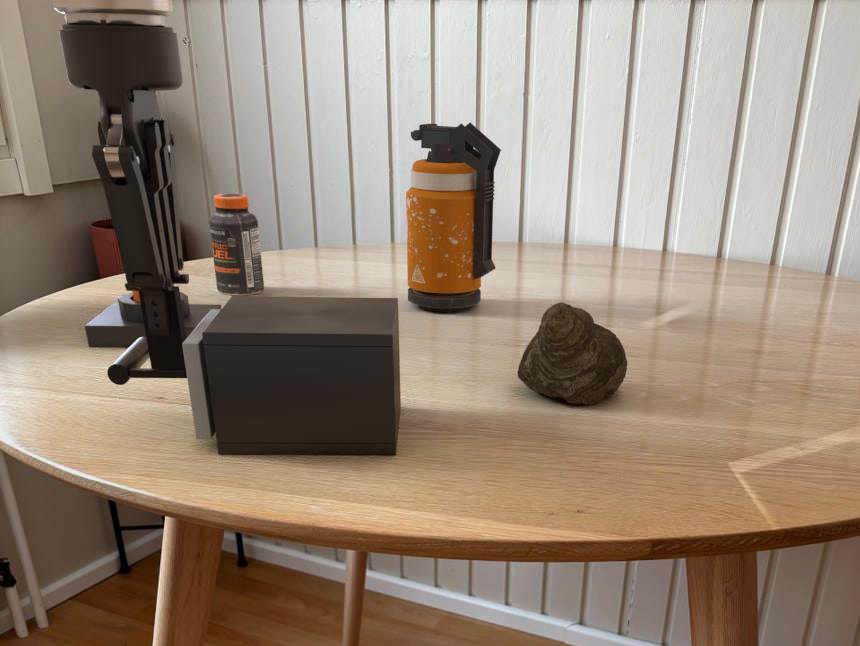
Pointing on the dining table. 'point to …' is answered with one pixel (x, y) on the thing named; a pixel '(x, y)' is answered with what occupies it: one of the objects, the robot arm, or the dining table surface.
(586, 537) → the dining table surface
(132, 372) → the dispenser drawer
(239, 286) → the pill bottle
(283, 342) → the drawer cabinet
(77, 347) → the dining table surface
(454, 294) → the canister
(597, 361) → the seashell
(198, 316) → the control block
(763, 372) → the dining table surface
